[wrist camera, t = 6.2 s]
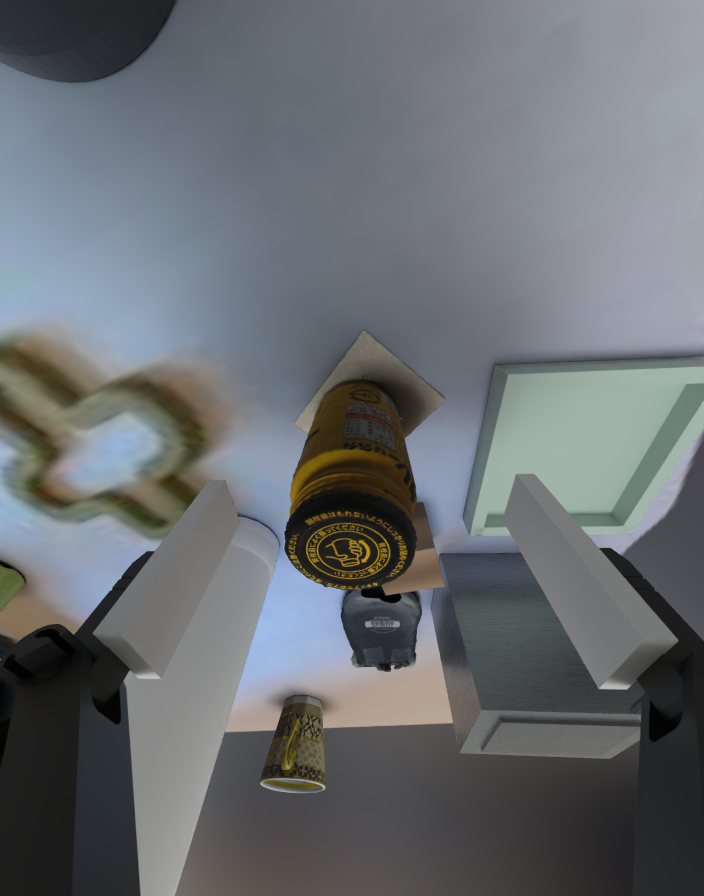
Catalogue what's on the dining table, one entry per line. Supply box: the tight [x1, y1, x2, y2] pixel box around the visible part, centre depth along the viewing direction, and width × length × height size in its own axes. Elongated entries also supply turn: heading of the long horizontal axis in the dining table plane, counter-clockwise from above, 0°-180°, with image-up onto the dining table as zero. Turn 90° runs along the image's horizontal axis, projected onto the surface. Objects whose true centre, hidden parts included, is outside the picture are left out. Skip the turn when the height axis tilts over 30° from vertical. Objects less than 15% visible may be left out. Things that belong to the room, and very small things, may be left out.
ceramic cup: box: [260, 695, 325, 793], centre depth 47 cm, size 13×10×10 cm
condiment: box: [284, 330, 445, 590], centre depth 16 cm, size 7×8×12 cm
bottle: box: [124, 517, 280, 896], centre depth 16 cm, size 8×8×30 cm
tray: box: [463, 356, 704, 536], centre depth 21 cm, size 14×13×2 cm
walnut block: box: [381, 502, 445, 595], centre depth 25 cm, size 5×5×5 cm
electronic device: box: [341, 589, 422, 672], centre depth 34 cm, size 9×6×15 cm
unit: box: [431, 554, 645, 759], centre depth 26 cm, size 10×12×12 cm
